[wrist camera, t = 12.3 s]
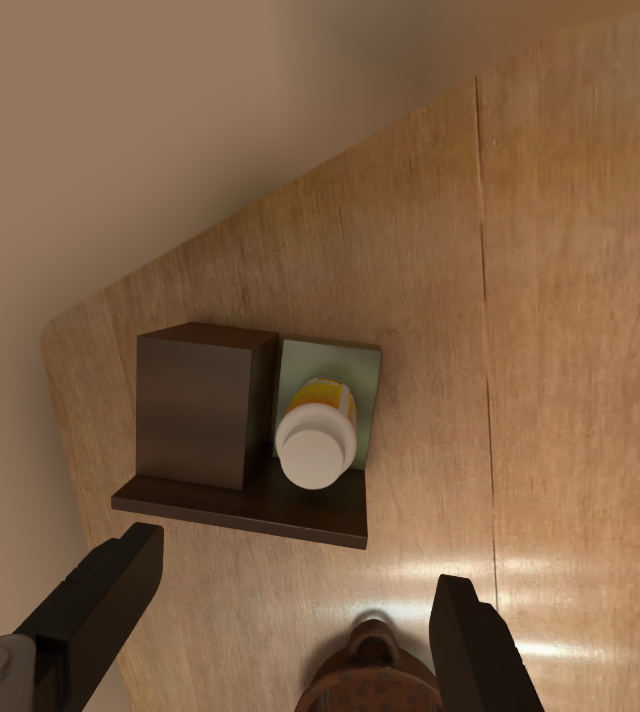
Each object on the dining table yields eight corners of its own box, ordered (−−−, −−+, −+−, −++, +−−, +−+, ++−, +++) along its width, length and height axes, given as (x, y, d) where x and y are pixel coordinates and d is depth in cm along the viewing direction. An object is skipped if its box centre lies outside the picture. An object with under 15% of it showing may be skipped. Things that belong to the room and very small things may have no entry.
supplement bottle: (280, 402, 33) (248, 454, 23) (327, 362, 32) (314, 398, 22) (322, 447, 34) (308, 518, 24) (370, 409, 33) (376, 466, 23)
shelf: (190, 321, 36) (109, 342, 24) (380, 345, 35) (392, 378, 23) (186, 439, 38) (110, 509, 27) (363, 465, 37) (365, 550, 25)
